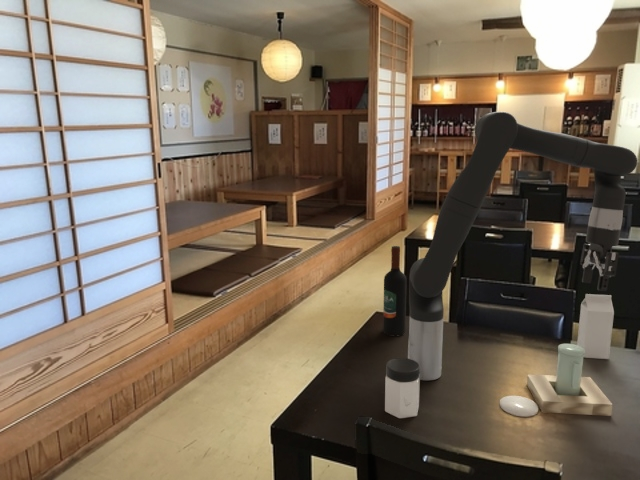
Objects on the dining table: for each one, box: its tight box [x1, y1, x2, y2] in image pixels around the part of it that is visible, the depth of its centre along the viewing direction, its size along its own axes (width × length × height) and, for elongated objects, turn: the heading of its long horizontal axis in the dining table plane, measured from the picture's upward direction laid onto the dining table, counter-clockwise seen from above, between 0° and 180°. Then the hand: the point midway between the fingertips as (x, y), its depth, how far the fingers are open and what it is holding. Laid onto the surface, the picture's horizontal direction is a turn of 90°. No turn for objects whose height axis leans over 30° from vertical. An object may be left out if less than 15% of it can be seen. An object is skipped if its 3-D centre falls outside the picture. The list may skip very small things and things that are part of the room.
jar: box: [384, 357, 421, 419], centre depth 127 cm, size 9×8×12 cm
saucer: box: [499, 395, 539, 418], centre depth 129 cm, size 9×9×1 cm
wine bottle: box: [382, 245, 408, 337], centre depth 174 cm, size 8×8×30 cm
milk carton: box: [576, 293, 615, 360], centre depth 156 cm, size 7×7×19 cm
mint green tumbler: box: [555, 343, 585, 396], centre depth 130 cm, size 6×8×14 cm
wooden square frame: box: [526, 374, 613, 417], centre depth 132 cm, size 16×14×3 cm
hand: (593, 286), depth 136 cm, fingers open, 8 cm apart
